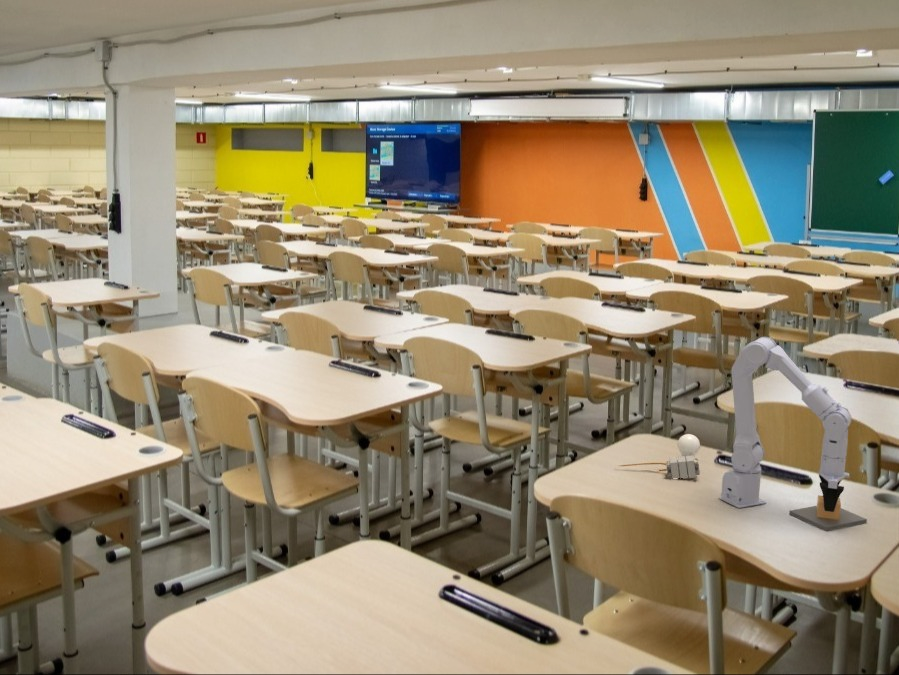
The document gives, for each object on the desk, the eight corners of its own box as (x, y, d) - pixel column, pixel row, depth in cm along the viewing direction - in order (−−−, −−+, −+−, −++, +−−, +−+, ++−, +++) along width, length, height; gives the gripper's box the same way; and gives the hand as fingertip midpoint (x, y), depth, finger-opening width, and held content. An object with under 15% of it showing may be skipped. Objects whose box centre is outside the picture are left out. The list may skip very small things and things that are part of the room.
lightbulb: (700, 474, 269) (703, 437, 266) (678, 473, 269) (681, 437, 267) (695, 467, 275) (697, 431, 273) (673, 466, 275) (676, 431, 273)
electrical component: (615, 485, 267) (612, 469, 267) (616, 479, 273) (613, 462, 273) (700, 477, 262) (698, 460, 261) (699, 470, 268) (697, 454, 267)
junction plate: (825, 531, 228) (827, 517, 227) (789, 514, 239) (790, 501, 238) (866, 522, 234) (867, 509, 233) (829, 506, 245) (830, 494, 244)
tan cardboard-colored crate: (839, 519, 233) (840, 504, 232) (817, 516, 235) (818, 502, 234) (838, 512, 238) (839, 498, 237) (816, 509, 239) (817, 495, 239)
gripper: (852, 465, 225) (847, 518, 228) (849, 449, 239) (844, 499, 241) (821, 462, 228) (816, 514, 230) (819, 446, 241) (815, 495, 244)
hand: (828, 506), depth 236 cm, fingers open, 6 cm apart
